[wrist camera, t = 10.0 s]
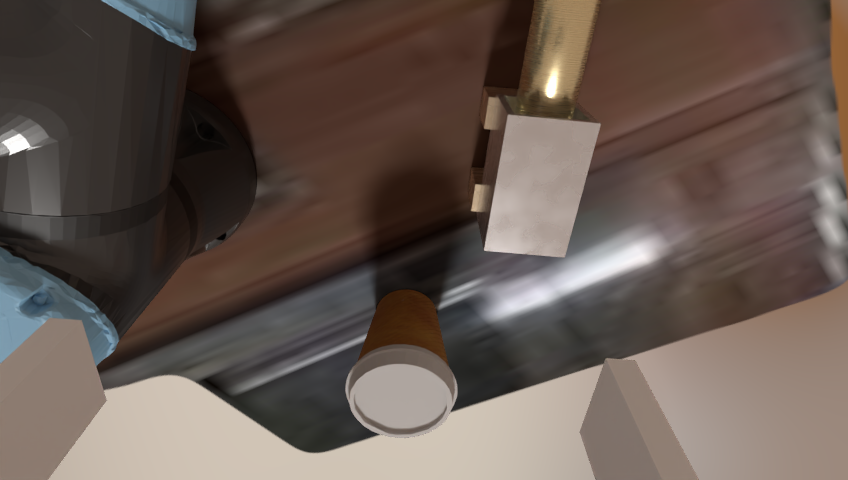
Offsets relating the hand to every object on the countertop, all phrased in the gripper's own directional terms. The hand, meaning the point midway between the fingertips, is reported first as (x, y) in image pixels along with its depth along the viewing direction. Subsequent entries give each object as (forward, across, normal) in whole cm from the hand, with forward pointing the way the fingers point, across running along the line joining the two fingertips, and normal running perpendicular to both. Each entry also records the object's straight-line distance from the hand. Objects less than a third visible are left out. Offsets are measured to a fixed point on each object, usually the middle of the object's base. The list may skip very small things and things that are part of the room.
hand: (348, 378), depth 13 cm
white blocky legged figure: (+32, +10, -3) cm, 33 cm away
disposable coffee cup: (+32, +2, -22) cm, 39 cm away
